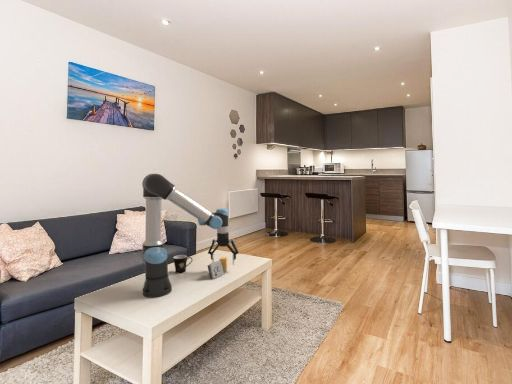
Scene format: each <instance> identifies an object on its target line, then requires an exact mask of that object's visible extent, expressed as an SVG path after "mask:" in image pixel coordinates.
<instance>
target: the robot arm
mask: <svg viewBox="0 0 512 384" xmlns="http://www.w3.org/2000/svg"><path fill="white" fill-rule="evenodd" d="M141 185H142V186H141V187H142V197H143V198H144V199H145V233H144V234H145V240H144V241H143V243H142V251H141V253H140V255H141V259H142V262H143V265H144V273H145V274H144V276H145V277H144V278H145V280H144V284H143V286H142V296H144V297H145V298H146V297H147V298H158V297H163V296H166V295H168V294H170V293H171V292H172V291H173V289H172V288H173V286H172V283H171V281H170V278H169V272H168V271H169V270H168V265H169V264H168V257H169V256H168V251H167V249H166V248H164V241H162V200H164V201H165V200H168V201H169V202H170V203H172V204H174V205H175V206H176V207H179V208H180V209H182V210H183V211H184V212H187V213H188V214H190V215H191V216H192V217H194V218H196V219H197V223H198V225H199V226H202V227H203V226H207V227H209V228H211V229H212V230H216V232H217V233H216V239H215V238H213V239H212V242H211V245H210V246H209V250H208V251H207V254H209V255H210V259H211V261H212V262H211V263H214V262H216V261H215V252H216V251H217V249H218V248H219V247H221V248H222V247H224V248H227V249H229V251H230V252H231V253H232V266H235V261H236V259H237V255H238V254H239V252H240V251H239V250H238V248H237V246H236V243H235V242H234V239H233V238H232V239H230V237H229V236H230V235H229V210H228V209H227V208H216V211H215V212H211V211H210V210H209V209H207V208H205V207H204V206H203V205H201V204H200V203H198V202H197V201H196V200H194V199H193V198H191V197H189V196H188V195H187V194H184V192H182V191H181V190H179V189H177V188H176V185H175V184H173V183H172V182H170V180H168V179H167V178H166V177H164V175H161V174H160V173H149V174H148V175H146V176H145V177H144V178H143V179H142V183H141ZM216 243H217V245H216V246H215V247H214V245H215V244H216ZM229 243H230V244H231V245H230V244H229ZM232 247H233V248H232ZM212 249H213V250H212Z"/></svg>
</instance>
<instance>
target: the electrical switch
mask: <svg viewBox="0 0 512 384" xmlns="http://www.w3.org/2000/svg"><path fill="white" fill-rule="evenodd" d="M207 269H208V275H209V278H210V279H212V280H215V279H217V278H219V277H222V276H224V275H225V272H223V268H222V264H221V261H219V260H217V261H215V262H214V263H213V262H211V263H209V264H208V265H207Z"/></svg>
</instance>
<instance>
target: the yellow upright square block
mask: <svg viewBox="0 0 512 384" xmlns="http://www.w3.org/2000/svg"><path fill="white" fill-rule="evenodd" d="M218 261H221V264H222V268H223V270H227V271H228V268H229V267H228V264H229V263H228V256H227V257H225V256H221V257H220V258H219V260H218Z"/></svg>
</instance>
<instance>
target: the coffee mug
mask: <svg viewBox="0 0 512 384" xmlns="http://www.w3.org/2000/svg"><path fill="white" fill-rule="evenodd" d="M188 259H191V260H190V262H189V263H188V264H187V261H188ZM192 263H193V257H191V256H190V257H188V256H187V255H185V254H180V255H179V254H178V255H174V256H173V264H174V269H175V273H176V274H184V273H186V271H187V267H188V266H189V265H191V264H192Z"/></svg>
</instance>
